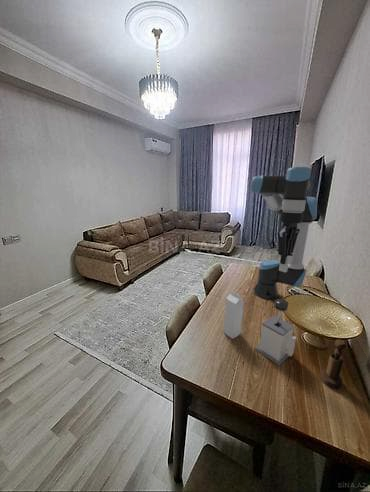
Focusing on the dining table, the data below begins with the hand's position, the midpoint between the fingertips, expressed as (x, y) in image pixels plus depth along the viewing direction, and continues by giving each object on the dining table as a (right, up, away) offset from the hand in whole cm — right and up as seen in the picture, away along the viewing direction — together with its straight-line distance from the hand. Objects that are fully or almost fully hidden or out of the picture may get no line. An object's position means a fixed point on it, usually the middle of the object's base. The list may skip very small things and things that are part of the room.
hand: (282, 271), depth 84 cm
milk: (-16, -33, +19) cm, 42 cm away
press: (0, -36, +8) cm, 37 cm away
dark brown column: (+15, -41, -5) cm, 44 cm away
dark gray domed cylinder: (0, -26, +5) cm, 27 cm away
